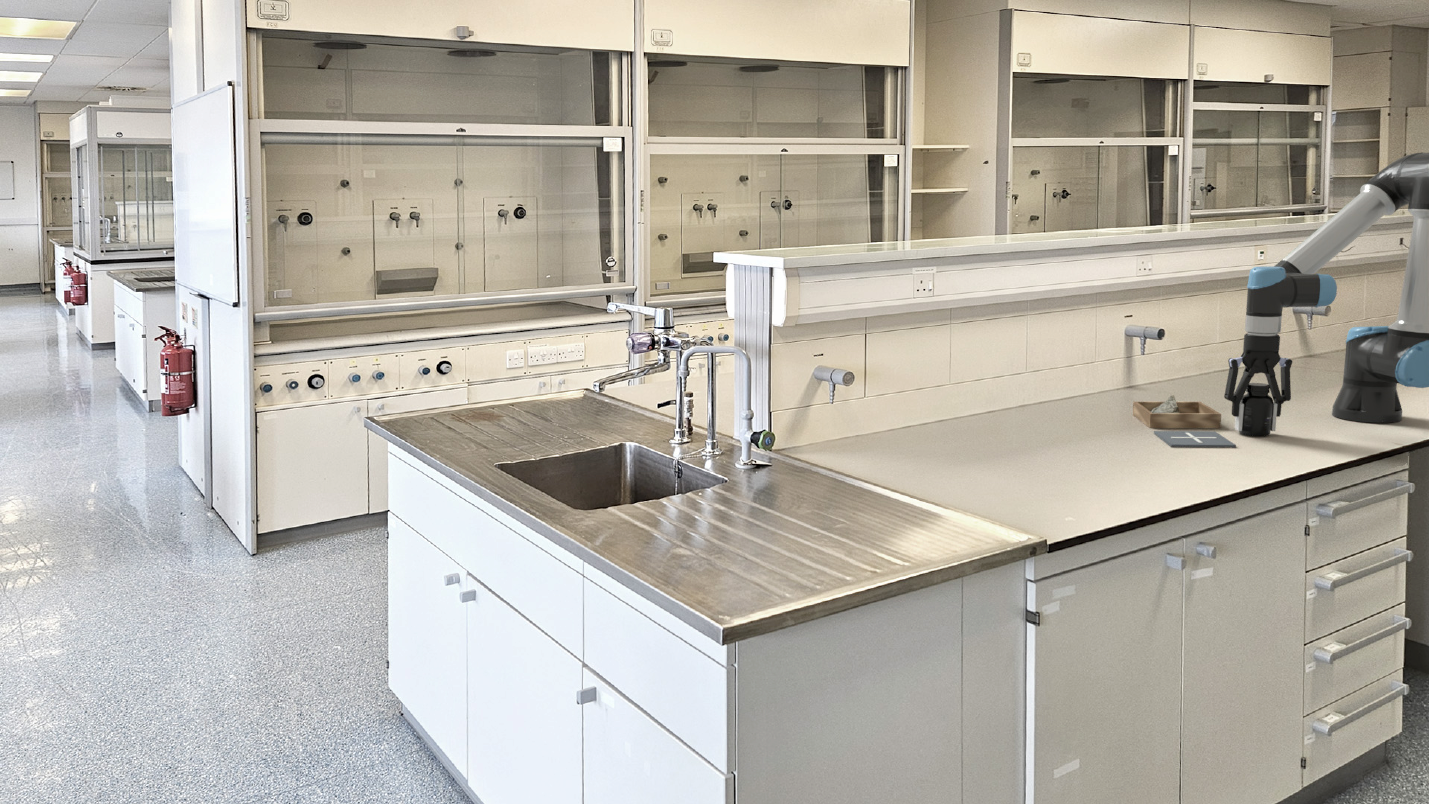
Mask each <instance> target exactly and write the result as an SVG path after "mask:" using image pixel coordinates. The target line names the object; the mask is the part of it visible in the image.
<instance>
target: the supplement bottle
mask: <svg viewBox="0 0 1429 804" xmlns="http://www.w3.org/2000/svg"><path fill="white" fill-rule="evenodd" d="M1245 393H1246V394H1244V396H1243V398H1242V400H1241V403H1243V404H1244V410H1243V423H1242V431H1238V433H1239V434H1240V435H1243V436H1247V437H1248V436H1249V437H1261V438H1262V437H1268V436H1270V435H1271V433H1272V431H1271V421H1272V410H1273V402H1274V400H1273V397H1272V396H1271V395H1269V394H1270V393H1271V391H1270V385H1269V384H1267V383H1262V382H1250V383H1249V385H1248V387H1247V389H1246V391H1245Z"/></svg>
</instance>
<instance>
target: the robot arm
mask: <svg viewBox="0 0 1429 804" xmlns="http://www.w3.org/2000/svg"><path fill="white" fill-rule="evenodd" d="M1359 192H1360V193H1358V195H1357V196H1355V197H1354V198H1353V199H1352V200H1351V201H1350V202H1348V203H1346V204H1345V206H1344V207H1342V208H1341V209H1340V210H1338V212H1336V213H1335V214H1334V215H1333V216H1332V217H1330V218H1329V219H1328V220H1327V221H1326V222H1325V223H1323V224H1322V225H1321V226H1320V227H1319V228H1318V229H1317V230H1315V231H1314V232H1313V233H1311V234H1310V235H1309V236H1308V237H1307V238H1305V240H1303V241H1302V242H1301V243H1300V244H1299V245H1297V246H1296V247H1295V248H1294V249H1293V250H1292V251H1290V252H1289V253H1288V254H1287V255H1286V256H1285V257H1283V258H1282V259H1281V260H1280V261H1278V263H1276V264H1274V266H1271V265H1270V266H1267V265H1266V266H1255V267H1252V268H1251V269H1250V270H1249V275H1248V280H1247V281H1248V282H1247V285H1246V288H1247V294H1246V295H1247V296H1246V307H1245V308H1246V309H1245V310H1246V312H1245V323H1244V332H1246V333H1245V334H1244V337H1243V348H1242V349H1243V350H1242V354H1240V356H1239V357H1234V358H1232V357H1230V358H1228V367H1229V369H1228V374H1227V381H1226V385H1225V390H1224V397H1223V398H1224V399H1225V400H1227V401H1230V402H1231V403H1232V404H1231V415H1232V417H1234V419H1235V420H1234V430H1236V431H1238V432H1239V431H1242V423H1243V410H1244V404H1243V403H1241V400H1242V398H1243V396H1244V395H1246V394H1245V393H1246V389H1247V387H1248V385H1249V383H1251V380H1252V378H1253V377H1254V376H1255V374H1264V376H1265V377H1266V380H1267V383H1268V385H1270V388H1269V391H1270V394H1271V398H1272V399H1273V410H1272V421H1271V432H1276V429H1277V427H1276V426H1277V418H1278V417H1281V415H1282V414H1281V413H1282V405H1284V403H1285V402H1289V401H1291V399H1292V393H1291V389H1292V388H1291V367H1292V364H1293V359H1290V358H1288V357H1281V355H1280V343H1281V336H1280V335H1279V334H1280V333H1281V332H1282V320H1283V319H1282V318H1283V309H1284V308H1318V307H1328V306H1330V305H1331V304H1333V302H1334V301H1335V300H1336V298H1337V294H1338V293H1337V292H1338V291H1337V290H1338V286H1337V285H1338V284H1337V282H1336V280H1335V278H1334V277H1333V276H1332V275H1330V274H1325V273H1324V274H1322V273H1317V272H1318V271H1319V270H1320V269H1322V267H1325V265H1326V264H1327V263H1328V262H1331V260H1332V259H1334V258H1335V257H1336V256H1337V255H1339V254H1340V253H1341V252H1342V251H1343V250H1344V249H1346V248H1347V247H1348V246H1349V245H1350V244H1352V243H1353V242H1354V241H1356V240H1357V238H1359V237H1360V236H1361V235H1362V234H1364V233H1365V232H1366V231H1367V230H1368V229H1370V228H1371V227H1372V226H1373V225H1375V224H1376V223H1377V222H1378V221H1379V220H1380V219H1382V218H1383V217H1384V216H1391V215H1394V213H1396V211H1398V210H1399V209H1401V208H1403V207H1405V206H1407V205H1408V206H1407V211H1408V213H1409V214H1411V216H1412V217H1413V223H1412V229H1411V234H1410V241H1409V246H1408V253H1407V259H1406V265H1405V270H1404V275H1403V276H1404V277H1403V281H1402V282H1403V283H1402V287H1401V288H1402V289H1401V293H1400V300H1399V305H1398V312H1397V318H1396V320H1395V321H1394V322H1393V323H1391V324H1390V325H1380V326H1379V325H1378V326H1377V325H1376V326H1353V327H1351V328H1350V329H1349V330H1348V332H1347V337H1346V340H1345V355H1344V356H1345V357H1344V367H1343V377H1342V384H1341V385H1342V386H1341V387H1340V389H1339V392H1338V394H1337V396H1336V398H1335V401H1334V402H1333V404H1332V411H1331V414H1332V416H1334V417H1335V418H1338V419H1342V420H1346V421H1347V420H1348V421H1352V422H1353V421H1354V422H1361V423H1375V424H1376V423H1378V424H1380V423H1381V424H1382V423H1383V424H1384V423H1385V424H1386V423H1396V422H1400V421H1402V419H1403V408H1402V404H1401V401H1400V396H1399V394H1398V389H1397V387H1398V385H1397V384H1399V385H1401V386H1404V387H1407V388H1417V389H1427V388H1429V152H1415V153H1414V152H1413V153H1409V154H1407V155H1405V156H1404V155H1403V156H1402V157H1400V158H1398V159H1396V160H1394V161H1392V162H1391V163H1389V164H1388V165H1387V166H1386V167H1384V168H1382V169H1381V170H1380V171H1379V172H1378V173H1376V174H1374V175H1373V176H1372V177H1371V178H1370V179H1368V181H1366V182H1365V183H1364V184H1363V185H1361V187H1360V190H1359ZM1278 363H1279V366H1280V387H1279V384H1278V381H1277V378H1276V372H1275V367H1276V366H1277V365H1278ZM1241 364H1243V365H1244V367H1245V368H1244V370H1243V371H1242V376H1241V378H1240V380H1239V382H1238V385H1237V380H1238V375H1239V368H1240V367H1241ZM1236 385H1237V387H1236Z"/></svg>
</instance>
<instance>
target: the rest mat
mask: <svg viewBox="0 0 1429 804" xmlns="http://www.w3.org/2000/svg"><path fill="white" fill-rule="evenodd" d="M1153 434H1154V435H1155V436H1156V437H1157V438H1159V439H1160V440H1162V442H1164V443H1165V444H1166V445H1168V446H1169V447H1170V448H1217V447H1223V448H1224V449H1225V447H1229V448H1230V447H1232V449H1234V448H1235V449H1236V448H1237V444H1236V443H1233V442H1232V441H1231V440H1229V439H1227V438H1226V437H1224V436H1223V435H1221V434H1220V433H1218V432H1217V431H1210V430H1209V431H1207V430H1206V431H1202V430H1199V431H1195V430H1194V431H1192V430H1191V431H1189V430H1186V431H1185V430H1184V431H1183V430H1176V431H1175V430H1168V431H1167V430H1160V431H1159V430H1154V431H1153ZM1223 448H1222V449H1223ZM1229 448H1228V449H1229Z"/></svg>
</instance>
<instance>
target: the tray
mask: <svg viewBox="0 0 1429 804" xmlns="http://www.w3.org/2000/svg"><path fill="white" fill-rule="evenodd" d="M1164 402H1165V401H1133V403H1132V416H1133V417H1135V418H1136V419H1137V420H1139V421H1140V423H1142V424H1144V425H1145V426H1147V427H1148V428H1149V429H1221V427H1222V426H1221V423H1222V422H1221V421H1222V414H1221V413H1220V412H1219V411H1216V409H1214V408H1212V407H1210V406H1209V405H1207V404H1205V403H1203V402H1202V401H1176V403H1177V406H1178V408H1179V412H1180V413H1152V412H1150V411H1151V410H1153V409H1154V408H1156V407H1159V406H1160V405H1161V404H1163V403H1164Z"/></svg>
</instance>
